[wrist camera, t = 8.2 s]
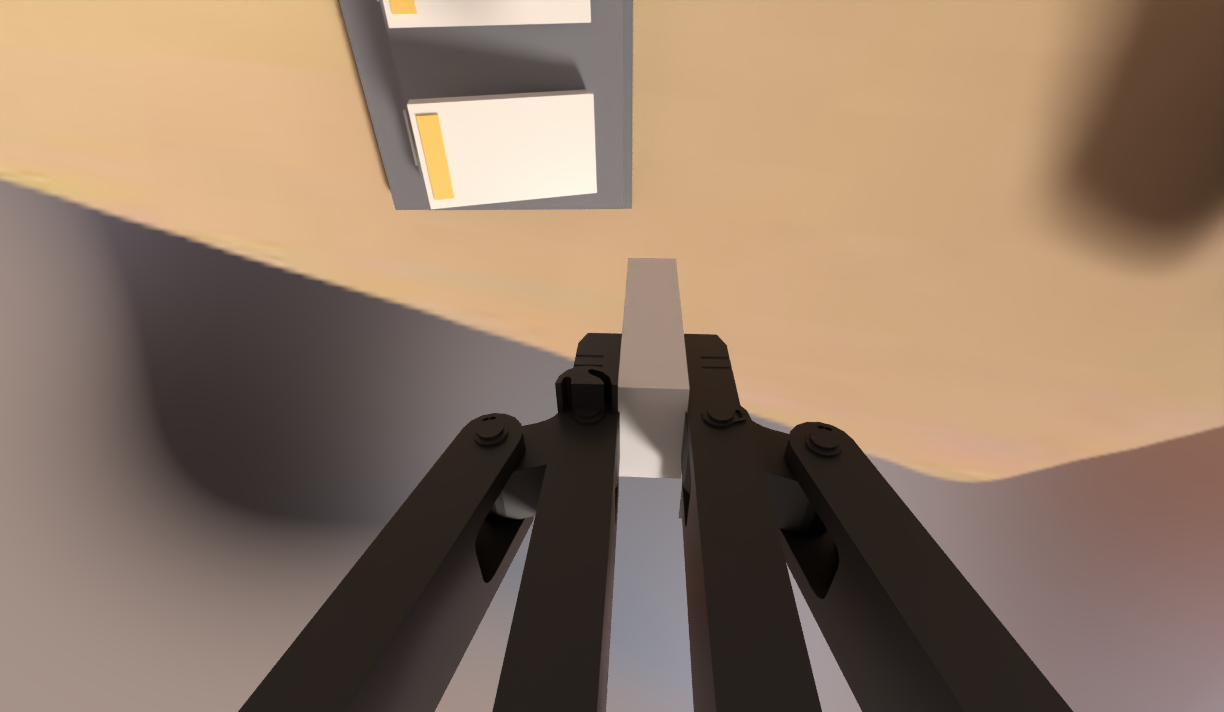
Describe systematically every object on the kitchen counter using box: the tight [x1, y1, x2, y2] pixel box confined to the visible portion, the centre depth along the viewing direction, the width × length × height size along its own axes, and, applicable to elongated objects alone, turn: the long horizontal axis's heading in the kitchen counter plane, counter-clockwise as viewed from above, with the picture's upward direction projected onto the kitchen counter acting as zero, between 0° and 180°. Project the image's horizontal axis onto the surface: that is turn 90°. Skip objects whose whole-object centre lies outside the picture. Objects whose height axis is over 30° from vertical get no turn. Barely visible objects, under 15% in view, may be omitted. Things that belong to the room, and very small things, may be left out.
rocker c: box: [407, 89, 597, 209], centre depth 26 cm, size 9×5×2 cm, turn 91°
